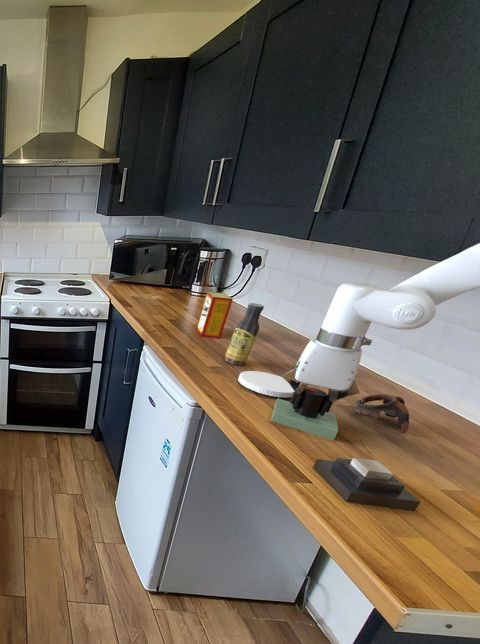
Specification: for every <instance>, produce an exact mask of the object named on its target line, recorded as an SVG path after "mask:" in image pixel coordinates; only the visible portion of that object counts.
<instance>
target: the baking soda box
mask: <svg viewBox="0 0 480 644" xmlns="http://www.w3.org/2000/svg"><path fill="white" fill-rule="evenodd" d="M205 293H206V294H205V297H204V300H203V304H202V307H201V311H200V315H199V317H198V322H197V325H196V328H195V329H196V331H197V332H198V334H199V335H200V336H201V337H204V338H213V339H221V337H222V334H223V332H224V328H225V324H226V322H227V319H228V315H229V313H230V310H231V306H232V302H233V300H234V299H233V298H232V297H231V296H229V294H227V293H224V292H215V291H206V292H205Z"/></svg>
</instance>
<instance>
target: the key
mask: <svg viewBox="0 0 480 644" xmlns="http://www.w3.org/2000/svg"><path fill="white" fill-rule="evenodd" d="M351 460H352V461H351V463H350V465H351V466H352V467H354V468H355V469H356V470H357V471H358V472H359V473H360V474H361V475H363V476H364V477H366V478H374V479H381V480H390V478H391V477H392V476H394V473H393V472H392V471H390V470H389V469H388V468H387V467H385V466H384V465H383V464H382V463H380V461H378V460H376V459H368V458H359V457H352V458H351Z"/></svg>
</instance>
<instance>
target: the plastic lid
mask: <svg viewBox="0 0 480 644" xmlns="http://www.w3.org/2000/svg"><path fill="white" fill-rule="evenodd" d="M238 382H239V383H240V385H241V386H243V387H244V388H247V389H249V390H251V391H253V392H256V393H259V394H261V395H266V396H270V397H275V398H276V397H277V398H284V399H285V398H292V396H293V393H294V390H293V388H292V387H291V386H290V384H289V383H288V382H287V381H286V380H285V379H284V378H283V377H282V376H279V375H277V374H273V373H269V372H264V371H260V370H259V371H258V370H245V371H241V372H240V373H239V376H238Z"/></svg>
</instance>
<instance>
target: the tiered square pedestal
mask: <svg viewBox="0 0 480 644" xmlns="http://www.w3.org/2000/svg"><path fill="white" fill-rule="evenodd" d="M351 461H352V458H351V459H350V458H344V457H343V458H342V457H336V459H335V460H327V459H321V458H316V460H315V462H314V464H313V465H312V469H313V470H314V471H315V472H316V473H317V475H319V476H320V477H321V478H322V479H323V480H324V481H325V482H326V483H327V484H328V485H329V486H330V487H331V488H332V489H333V490H334V491H335V492H336V494H338V496H339V497H341V499H342V500H343V501H344V502H346V503H353V504H359V505H360V504H361V505H366V506H375V507H381V508H389V509H396V510H403V511H409V512H415V511H416V510H417V508H418V507H419V506H420V504H421V501H420V500H419V499H418V497H416V496H415V495H413V494H412V493H411V492H410V491H408V490H407V489H406V485H405V484H403V483H402V482H401V481H399V480H398V479H397V478H396V477H394V475H392V477H391V478H390V480H381V479H374V478H366V477H364V476H363V475H361V474H360V473H359V472H358V471H357V470H356V469H355V468H354V467H352V466H351V465H350V463H351Z"/></svg>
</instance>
